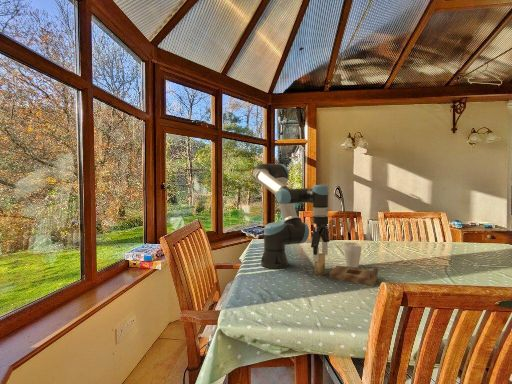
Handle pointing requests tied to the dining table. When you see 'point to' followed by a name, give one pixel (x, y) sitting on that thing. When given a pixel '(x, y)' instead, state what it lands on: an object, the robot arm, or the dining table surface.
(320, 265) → the golden brass cylinder
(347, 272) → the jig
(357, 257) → the cup
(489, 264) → the dining table surface
